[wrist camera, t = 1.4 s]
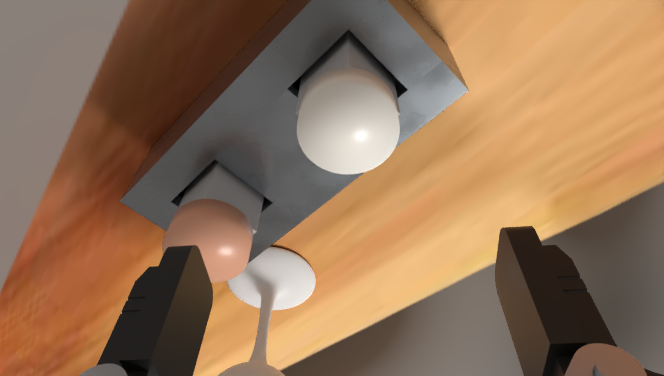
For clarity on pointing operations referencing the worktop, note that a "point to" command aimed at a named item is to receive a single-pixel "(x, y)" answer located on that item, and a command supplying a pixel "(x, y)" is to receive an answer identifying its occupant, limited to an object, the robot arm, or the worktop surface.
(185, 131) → the plunger panel
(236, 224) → the plunger
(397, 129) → the white ball knob
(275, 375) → the wineglass
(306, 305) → the worktop surface
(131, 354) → the robot arm
